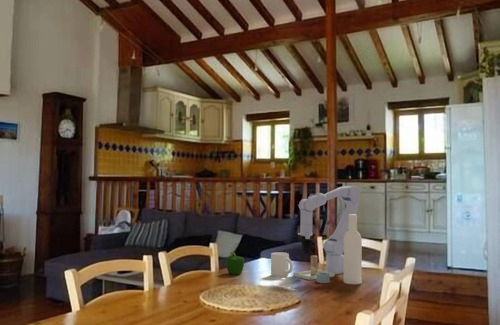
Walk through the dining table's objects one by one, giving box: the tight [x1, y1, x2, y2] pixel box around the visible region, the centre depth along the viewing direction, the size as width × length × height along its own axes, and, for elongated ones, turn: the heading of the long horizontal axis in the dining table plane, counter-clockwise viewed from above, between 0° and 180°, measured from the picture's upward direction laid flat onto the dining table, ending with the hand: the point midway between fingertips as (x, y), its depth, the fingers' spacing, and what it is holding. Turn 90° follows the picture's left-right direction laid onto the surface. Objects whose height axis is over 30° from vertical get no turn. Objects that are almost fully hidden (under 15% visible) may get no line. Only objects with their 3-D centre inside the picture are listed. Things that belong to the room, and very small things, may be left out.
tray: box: [293, 269, 336, 281], centre depth 213 cm, size 16×11×2 cm
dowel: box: [310, 255, 318, 276], centre depth 213 cm, size 3×3×9 cm
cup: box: [316, 272, 331, 284], centre depth 201 cm, size 6×6×4 cm
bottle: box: [342, 213, 363, 285], centre depth 201 cm, size 8×8×30 cm
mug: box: [270, 251, 294, 278], centre depth 213 cm, size 12×8×10 cm
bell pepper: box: [225, 252, 245, 275], centre depth 218 cm, size 8×8×10 cm
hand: (305, 252), depth 219 cm, fingers open, 7 cm apart
